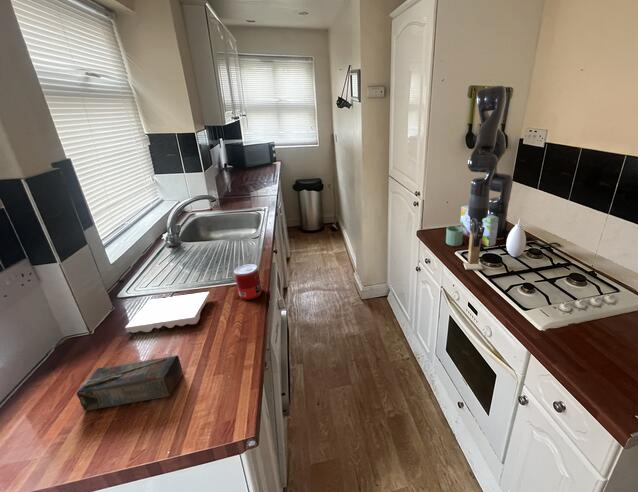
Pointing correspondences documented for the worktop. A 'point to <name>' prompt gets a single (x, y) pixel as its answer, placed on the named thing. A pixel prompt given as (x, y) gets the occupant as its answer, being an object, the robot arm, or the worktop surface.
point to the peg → (473, 251)
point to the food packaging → (169, 312)
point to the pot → (454, 235)
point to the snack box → (488, 223)
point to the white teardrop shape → (516, 240)
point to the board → (472, 266)
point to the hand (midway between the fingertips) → (474, 244)
